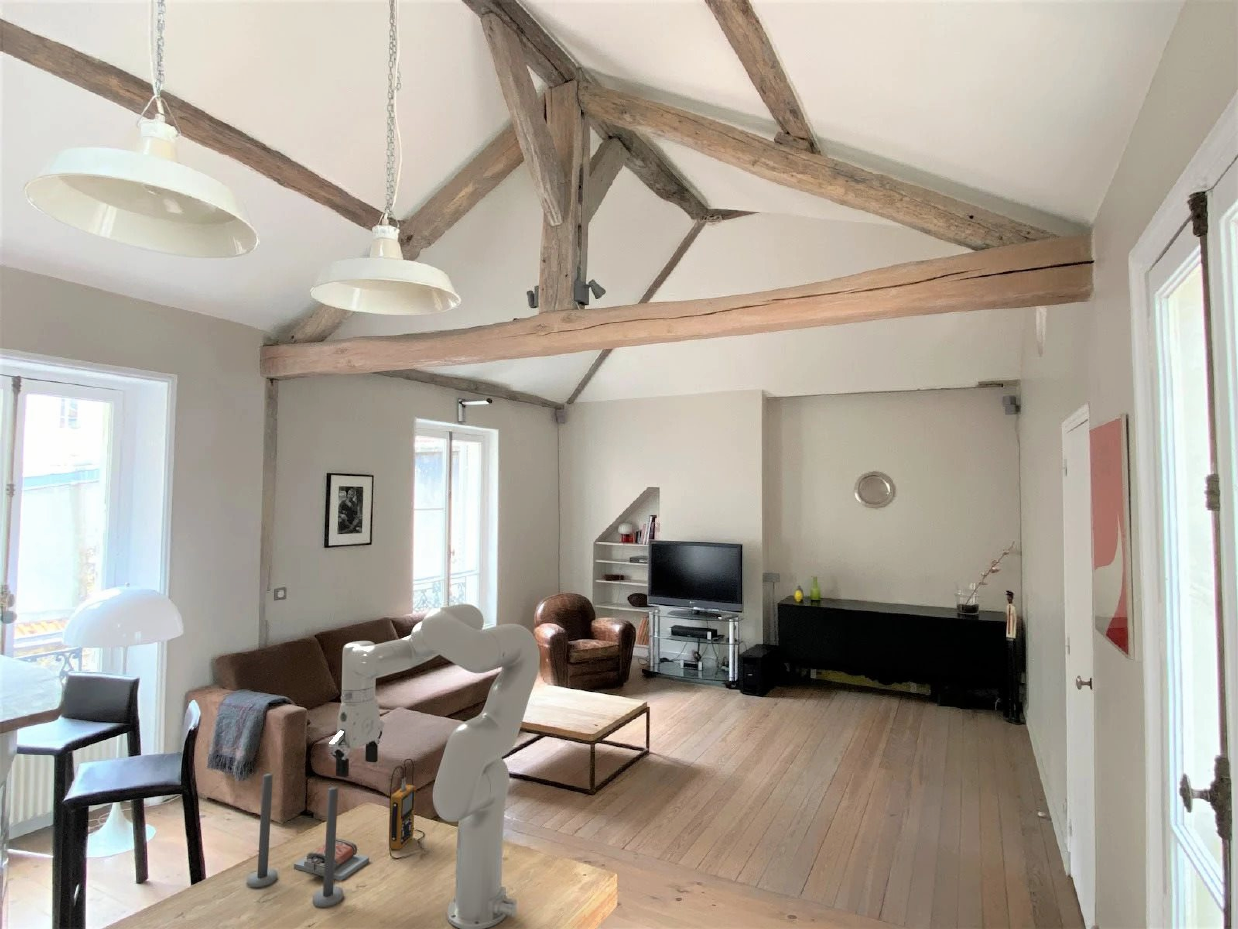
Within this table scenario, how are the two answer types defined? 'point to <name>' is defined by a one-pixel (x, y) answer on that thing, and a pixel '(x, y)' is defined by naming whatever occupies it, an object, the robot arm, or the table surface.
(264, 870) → the far cord post
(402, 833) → the multimeter
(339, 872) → the mat
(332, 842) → the post
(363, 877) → the table surface
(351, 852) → the lighter
